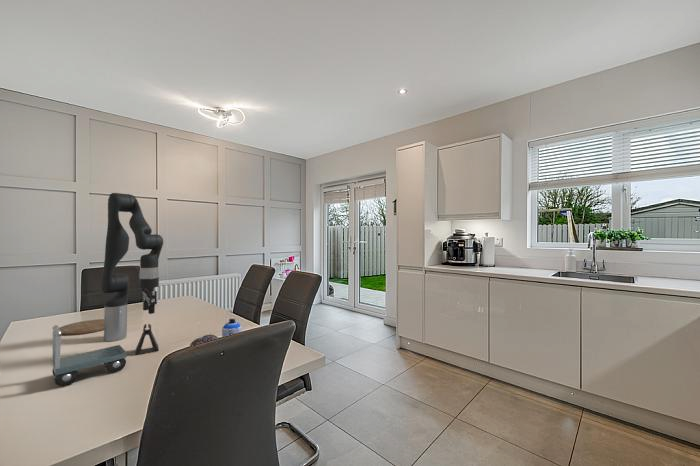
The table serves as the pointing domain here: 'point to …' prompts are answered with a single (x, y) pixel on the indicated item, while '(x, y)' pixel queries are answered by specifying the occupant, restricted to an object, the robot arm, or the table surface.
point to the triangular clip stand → (139, 346)
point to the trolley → (83, 360)
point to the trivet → (82, 327)
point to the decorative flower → (203, 339)
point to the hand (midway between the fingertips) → (148, 311)
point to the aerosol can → (231, 328)
